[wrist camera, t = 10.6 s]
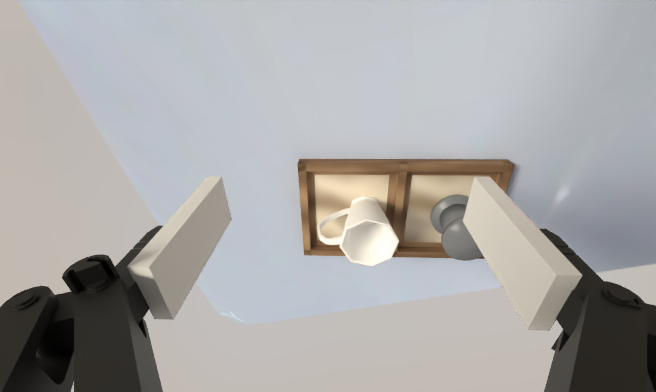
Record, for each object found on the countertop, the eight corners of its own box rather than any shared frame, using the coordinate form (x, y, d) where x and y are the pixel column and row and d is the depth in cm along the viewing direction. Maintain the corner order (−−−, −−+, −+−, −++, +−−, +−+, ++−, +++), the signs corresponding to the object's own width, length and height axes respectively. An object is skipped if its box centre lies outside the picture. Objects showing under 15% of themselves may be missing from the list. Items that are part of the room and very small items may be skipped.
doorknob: (434, 194, 39) (448, 218, 34) (482, 194, 39) (503, 219, 34) (427, 232, 42) (439, 260, 37) (471, 233, 42) (490, 260, 37)
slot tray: (299, 159, 39) (297, 164, 37) (507, 159, 37) (514, 164, 36) (305, 247, 46) (304, 255, 44) (479, 250, 44) (484, 258, 43)
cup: (391, 226, 42) (400, 264, 35) (323, 233, 43) (319, 271, 36) (388, 183, 39) (397, 216, 32) (315, 192, 40) (309, 225, 33)
